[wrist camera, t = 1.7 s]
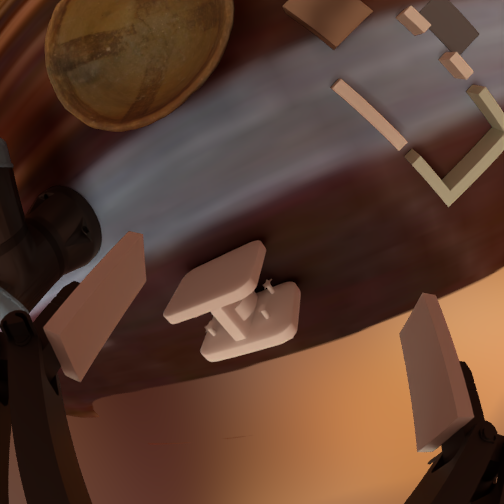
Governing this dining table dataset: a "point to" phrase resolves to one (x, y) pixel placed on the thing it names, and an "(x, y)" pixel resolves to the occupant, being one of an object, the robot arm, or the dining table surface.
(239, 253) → the cable organizer
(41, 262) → the robot arm
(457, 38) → the mat
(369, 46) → the dining table surface
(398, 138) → the channel
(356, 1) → the block
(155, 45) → the bowl
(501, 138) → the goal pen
